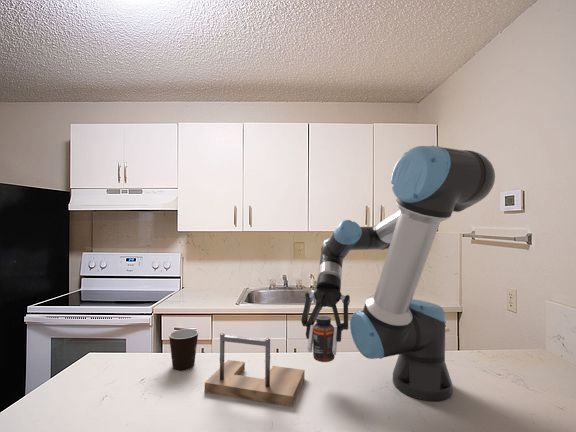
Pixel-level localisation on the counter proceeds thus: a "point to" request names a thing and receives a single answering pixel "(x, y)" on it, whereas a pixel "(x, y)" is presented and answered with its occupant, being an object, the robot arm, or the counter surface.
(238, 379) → the notched wooden board
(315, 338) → the supplement bottle
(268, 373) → the grey metal arch frame
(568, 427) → the counter surface
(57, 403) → the counter surface
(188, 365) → the coffee mug
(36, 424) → the counter surface
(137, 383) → the counter surface
